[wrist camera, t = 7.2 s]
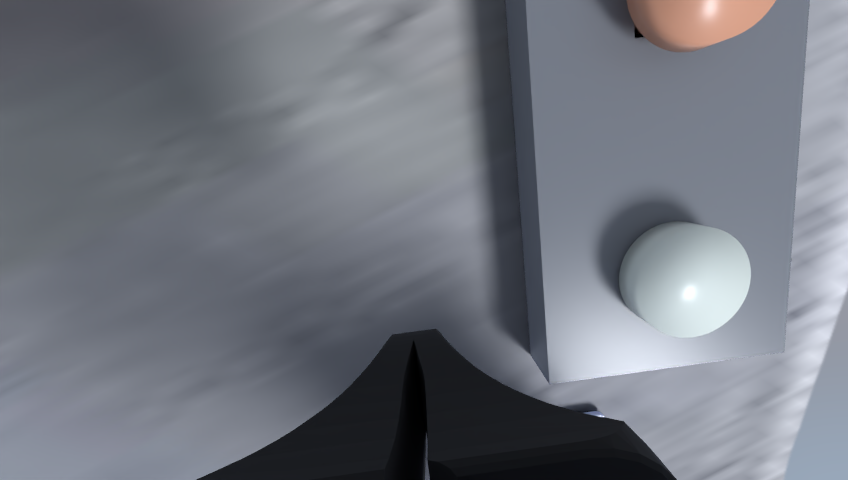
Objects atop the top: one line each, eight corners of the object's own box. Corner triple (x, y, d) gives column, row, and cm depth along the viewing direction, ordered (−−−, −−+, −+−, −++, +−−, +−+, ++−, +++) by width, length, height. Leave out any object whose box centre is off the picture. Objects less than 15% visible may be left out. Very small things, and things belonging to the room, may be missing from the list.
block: (734, 327, 23) (784, 352, 20) (530, 355, 22) (549, 384, 19) (753, -112, 18) (821, -164, 15) (498, -83, 18) (517, -131, 15)
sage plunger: (681, 297, 22) (748, 329, 17) (592, 308, 21) (638, 344, 17) (682, 207, 21) (753, 219, 16) (589, 219, 20) (636, 234, 16)
